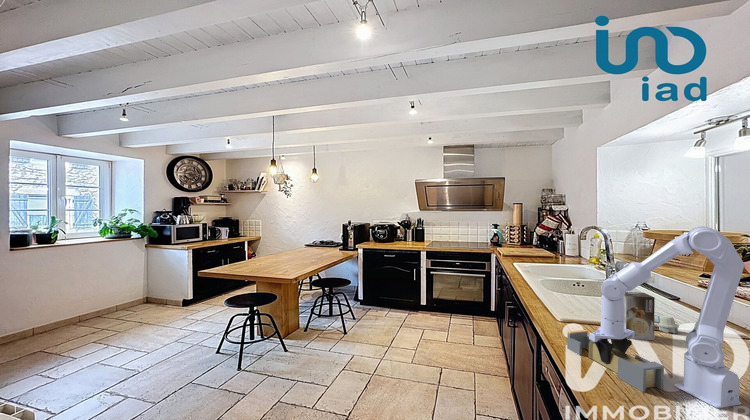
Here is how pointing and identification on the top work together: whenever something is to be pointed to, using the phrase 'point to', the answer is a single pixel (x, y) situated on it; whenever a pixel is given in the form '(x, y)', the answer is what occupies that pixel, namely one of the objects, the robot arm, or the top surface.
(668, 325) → the pale grey bumpy piece
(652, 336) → the coffee box
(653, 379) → the tan rectangular post
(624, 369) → the sleeve
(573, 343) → the socket
